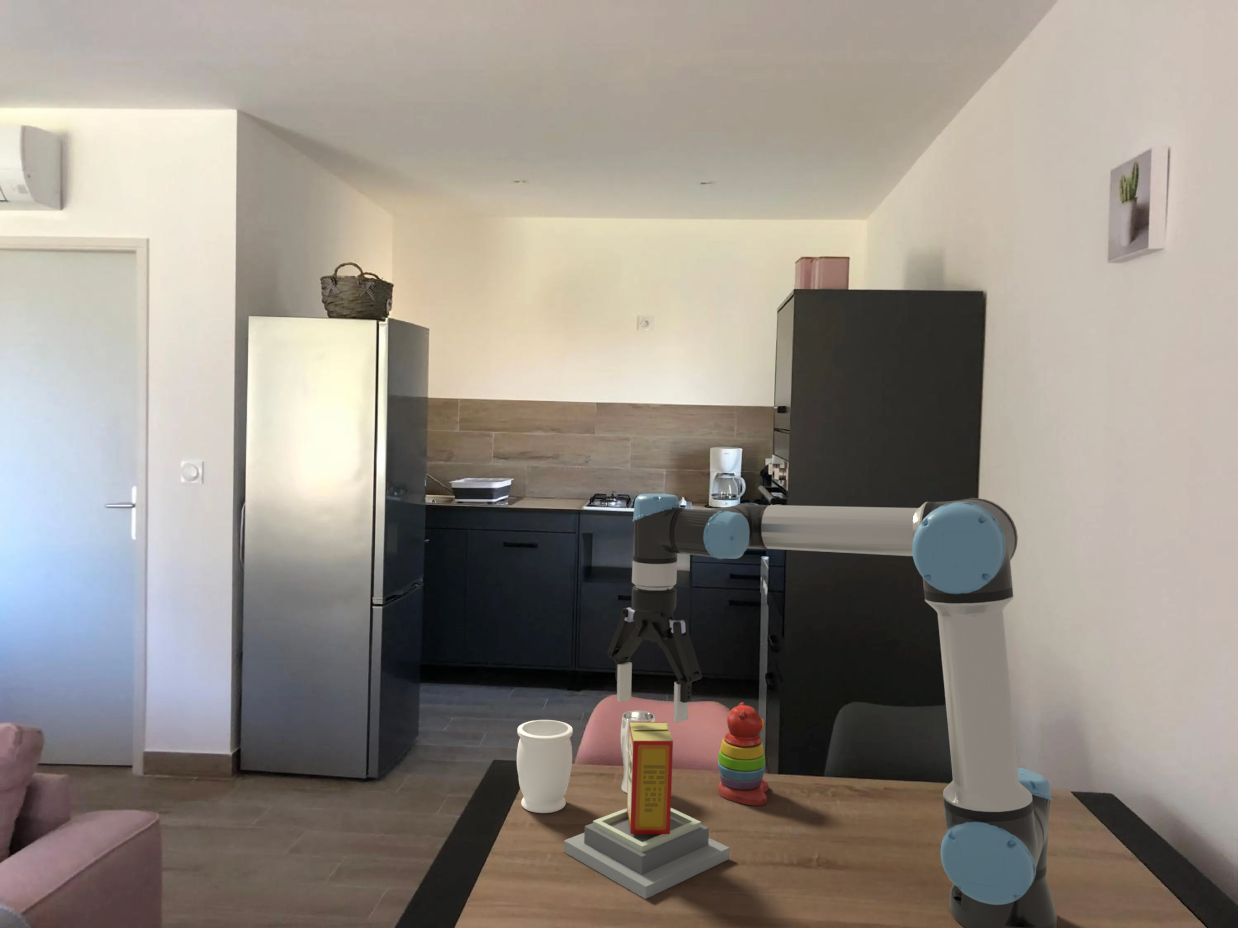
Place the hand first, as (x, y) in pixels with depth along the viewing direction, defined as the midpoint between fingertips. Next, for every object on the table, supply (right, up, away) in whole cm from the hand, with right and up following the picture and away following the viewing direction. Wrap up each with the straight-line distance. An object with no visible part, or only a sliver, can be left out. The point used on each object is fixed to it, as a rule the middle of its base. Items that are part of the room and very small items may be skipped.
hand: (651, 710), depth 156 cm
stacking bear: (+19, -25, +28) cm, 42 cm away
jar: (-20, -24, +21) cm, 37 cm away
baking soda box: (-1, -19, +1) cm, 20 cm away
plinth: (-1, -25, +2) cm, 25 cm away
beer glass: (-2, -24, +29) cm, 38 cm away
